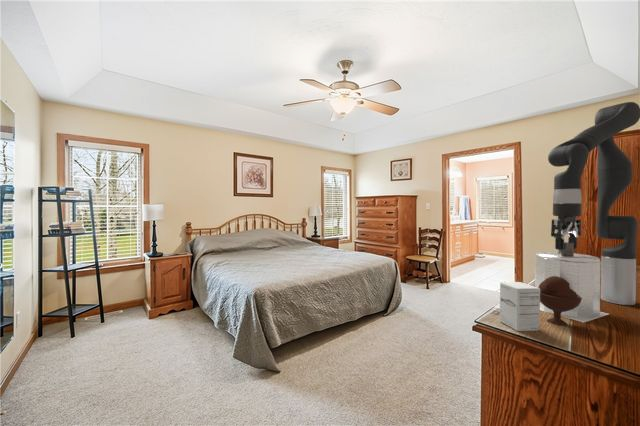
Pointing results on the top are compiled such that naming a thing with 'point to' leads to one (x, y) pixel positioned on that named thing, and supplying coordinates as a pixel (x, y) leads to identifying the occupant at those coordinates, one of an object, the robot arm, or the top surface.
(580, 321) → the mat
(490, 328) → the top surface
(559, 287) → the ice cream bowl
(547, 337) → the top surface
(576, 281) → the cover
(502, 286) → the supplement box
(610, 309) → the top surface
